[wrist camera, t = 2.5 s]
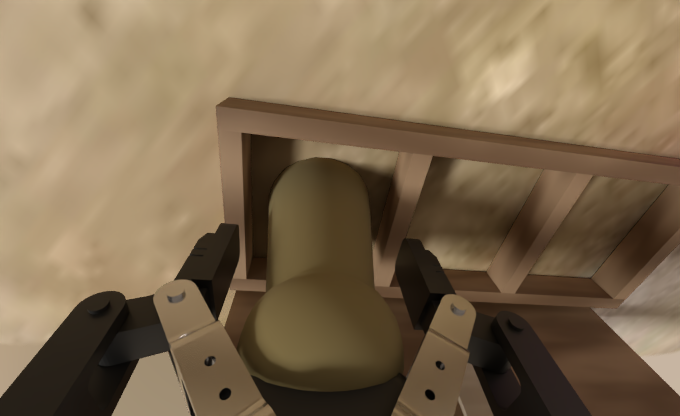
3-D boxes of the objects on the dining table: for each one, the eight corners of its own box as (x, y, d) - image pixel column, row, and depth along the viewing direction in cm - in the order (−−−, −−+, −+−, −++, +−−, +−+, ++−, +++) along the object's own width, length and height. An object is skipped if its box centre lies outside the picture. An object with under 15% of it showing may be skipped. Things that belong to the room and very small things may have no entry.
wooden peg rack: (228, 97, 13) (-61, 287, 3) (702, 162, 17) (1274, 345, 7) (239, 302, 21) (163, 559, 10) (569, 316, 24) (751, 516, 14)
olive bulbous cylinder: (349, 140, 15) (402, 312, 6) (381, 225, 18) (451, 429, 9) (249, 180, 16) (147, 390, 6) (296, 255, 19) (275, 471, 9)
